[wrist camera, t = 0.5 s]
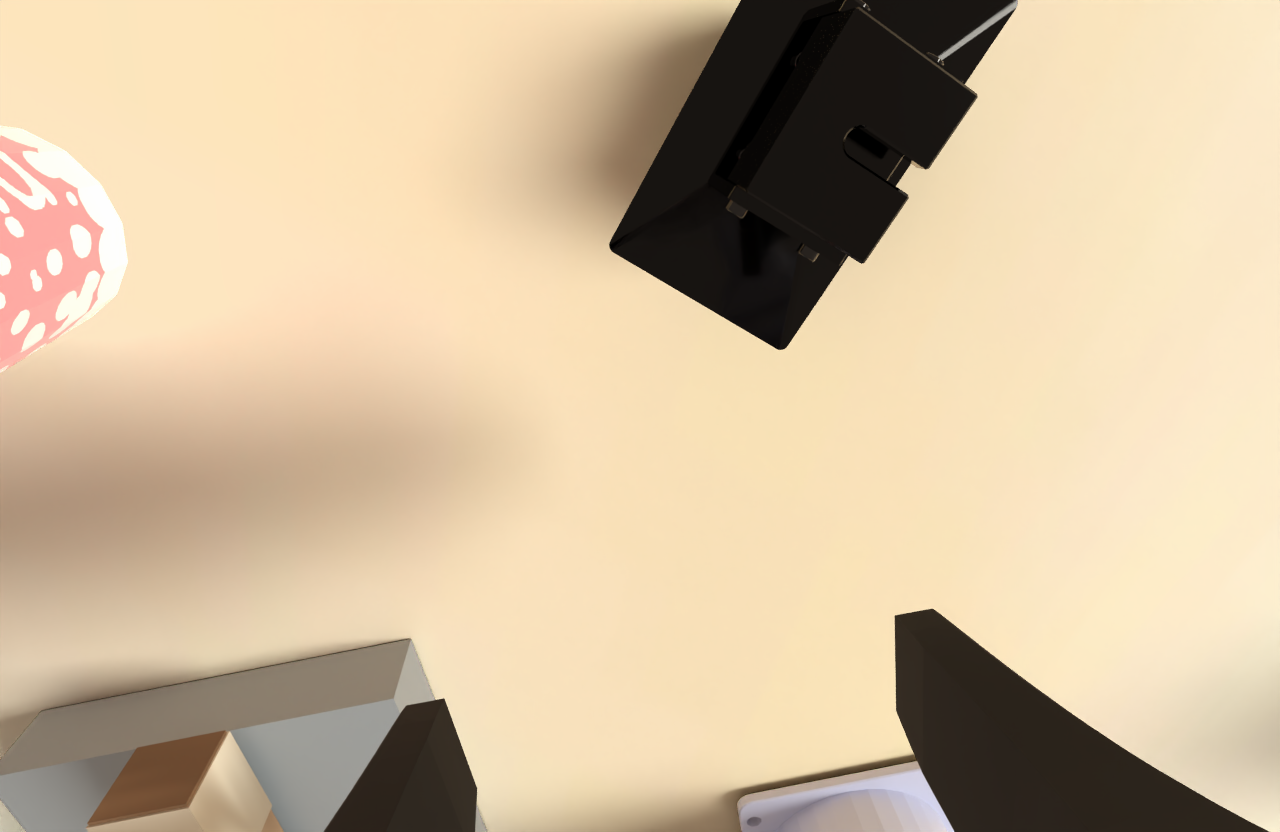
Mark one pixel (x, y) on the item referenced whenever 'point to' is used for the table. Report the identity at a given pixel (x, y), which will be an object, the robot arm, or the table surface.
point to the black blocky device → (801, 149)
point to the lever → (186, 790)
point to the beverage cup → (51, 245)
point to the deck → (240, 703)
